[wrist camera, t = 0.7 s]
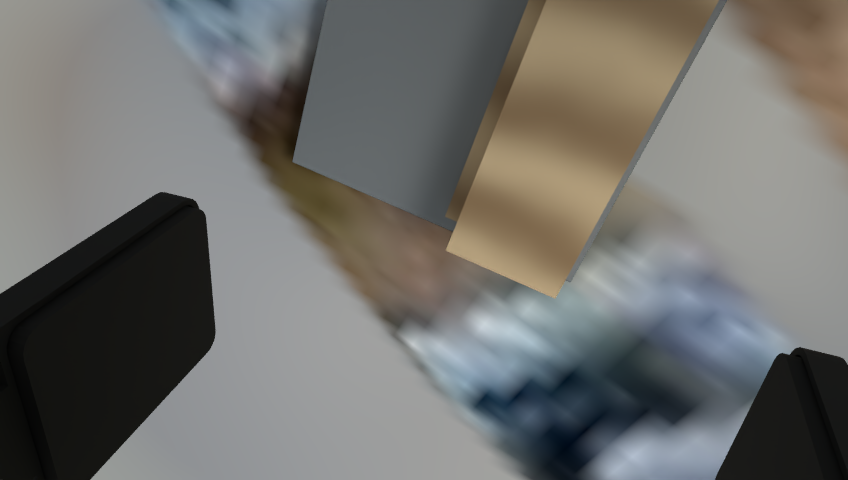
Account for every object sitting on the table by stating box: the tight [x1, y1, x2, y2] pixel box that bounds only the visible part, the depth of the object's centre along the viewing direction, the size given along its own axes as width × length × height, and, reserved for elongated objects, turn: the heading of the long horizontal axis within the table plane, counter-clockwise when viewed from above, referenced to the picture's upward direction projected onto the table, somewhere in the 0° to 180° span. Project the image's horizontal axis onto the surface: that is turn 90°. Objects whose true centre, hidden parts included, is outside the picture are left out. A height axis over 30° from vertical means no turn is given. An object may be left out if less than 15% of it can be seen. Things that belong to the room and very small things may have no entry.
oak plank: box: [445, 0, 719, 298], centre depth 34 cm, size 20×8×4 cm, turn 162°
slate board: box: [292, 0, 727, 282], centre depth 37 cm, size 22×20×2 cm
